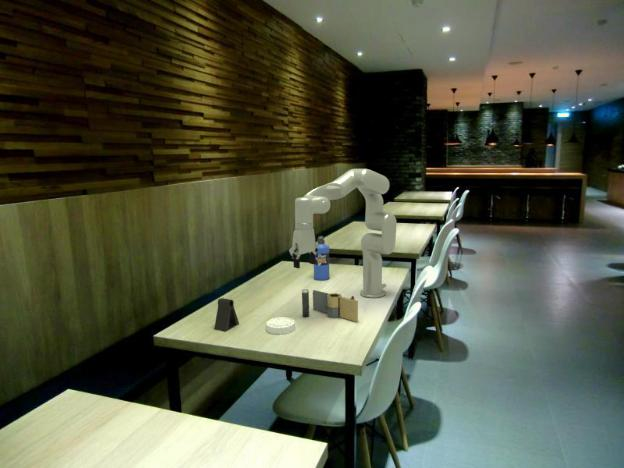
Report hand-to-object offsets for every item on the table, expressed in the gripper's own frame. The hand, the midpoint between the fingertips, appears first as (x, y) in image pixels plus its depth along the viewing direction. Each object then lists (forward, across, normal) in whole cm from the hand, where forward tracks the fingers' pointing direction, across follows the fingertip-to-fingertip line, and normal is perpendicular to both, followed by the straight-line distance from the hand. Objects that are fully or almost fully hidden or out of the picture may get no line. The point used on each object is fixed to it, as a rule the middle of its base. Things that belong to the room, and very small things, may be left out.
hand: (304, 265), depth 189 cm
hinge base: (+23, -10, +4) cm, 25 cm away
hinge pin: (+23, -1, 0) cm, 23 cm away
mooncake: (+24, +16, +2) cm, 29 cm away
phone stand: (+24, +29, -17) cm, 42 cm away
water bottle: (+23, -52, -36) cm, 67 cm away
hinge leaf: (+23, -10, +13) cm, 28 cm away
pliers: (+24, -23, 0) cm, 33 cm away
